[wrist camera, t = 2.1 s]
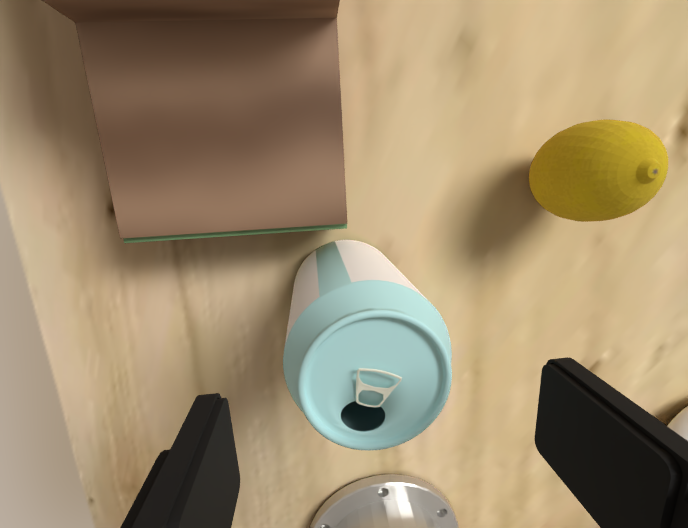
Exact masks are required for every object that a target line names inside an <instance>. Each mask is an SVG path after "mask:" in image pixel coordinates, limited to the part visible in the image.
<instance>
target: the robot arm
mask: <svg viewBox="0 0 688 528" xmlns="http://www.w3.org/2000/svg"><path fill="white" fill-rule="evenodd" d="M535 444H536V447H537V449H538V451H539V453H540V454H541V455H542V457H543V458H544V459H545V460H546V461H547V463H548V464H549V465H550V466H551V468H552V469H553V470H554V471H555V472H556V474H557V475H558V476H559V477H560V479H561V480H562V481H563V482H564V483H565V485H566V486H567V487H568V488H569V490H570V491H571V492H572V493H573V494H574V496H575V497H576V498H577V499H578V501H579V502H580V503H581V504H582V505H583V507H584V508H585V509H586V510H587V512H588V513H589V514H590V515H591V516H592V518H593V519H594V520H595V521H596V523H597V524H598V525H599V526H600V527H601V528H688V441H687V440H686V439H684V438H683V437H682V436H680V435H679V434H677V433H676V432H675V431H673V430H672V429H670V428H669V427H668V426H666V425H665V424H663V423H662V422H661V421H659V420H658V419H656V418H655V417H654V416H652V415H651V414H649V413H648V412H647V411H645V410H644V409H642V408H641V407H639V406H638V405H637V404H635V403H634V402H632V401H631V400H630V399H628V398H627V397H625V396H624V395H623V394H621V393H620V392H618V391H617V390H616V389H614V388H613V387H611V386H610V385H609V384H607V383H606V382H604V381H603V380H602V379H600V378H599V377H597V376H596V375H595V374H593V373H592V372H590V371H589V370H588V369H586V368H585V367H583V366H582V365H581V364H579V363H578V362H576V361H575V360H574V359H572V358H559V359H550V360H548V362H547V364H546V365H544V366H543V368H542V375H541V385H540V394H539V403H538V412H537V421H536V431H535ZM239 488H240V473H239V467H238V461H237V454H236V448H235V442H234V436H233V429H232V423H231V417H230V410H229V404H228V400H227V398H221V396H220V394H219V393H216V394H206V395H198V396H197V397H196V399H195V401H194V403H193V405H192V407H191V409H190V411H189V413H188V415H187V417H186V419H185V421H184V423H183V425H182V427H181V429H180V431H179V433H178V435H177V437H176V439H175V441H174V443H173V445H172V447H171V449H170V450H164V451H162V452H161V453H160V455H159V456H158V457H157V459H156V461H155V463H154V465H153V467H152V469H151V471H150V473H149V475H148V476H147V478H146V480H145V482H144V484H143V486H142V488H141V490H140V492H139V494H138V495H137V497H136V499H135V501H134V503H133V505H132V507H131V509H130V511H129V513H128V514H127V516H126V518H125V520H124V522H123V524H122V526H121V528H231V525H232V521H233V516H234V511H235V507H236V502H237V498H238V493H239ZM310 528H459V527H458V522H457V520H456V517H455V514H454V512H453V510H452V508H451V505H450V503H449V501H448V500H447V499H446V497H445V496H444V495H443V494H442V493H441V491H439V490H438V489H437V488H435V487H434V486H433V485H431V484H430V483H427V482H425V481H423V480H421V479H419V478H415V477H411V476H407V475H397V474H386V475H376V476H372V477H368V478H364V479H361V480H358V481H356V482H354V483H351V484H349V485H347V486H346V487H344V488H342V489H341V490H339V491H337V492H336V493H335V494H334V495H332V496H331V497H330V498H329V499H328V500H327V501H326V502H325V503H324V504H323V505H322V507H321V508H320V509H319V510H318V512H317V513H316V515H315V517H314V519H313V521H312V523H311V526H310Z"/></svg>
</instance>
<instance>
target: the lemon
mask: <svg viewBox="0 0 688 528" xmlns="http://www.w3.org/2000/svg"><path fill="white" fill-rule="evenodd" d="M667 170H668V156H667V152H666V149H665V147H664V145H663V143H662V142H661V140H660V138H659V137H658V136H656V135H655V134H654V133H653V132H652V131H651V130H649V129H647V128H645V127H643V126H641V125H638V124H636V123H632V122H626V121H618V120H597V121H590V122H584V123H580V124H577V125H574V126H572V127H570V128H567V129H565V130H563V131H561V132H559V133H557V134H556V135H554V136H553V137H552V138H551V139H549V140H548V141H547V142H546V143H545V144H544V145H543V146H542V147H541V148H540V149H539V151H538V152H537V153H536V155H535V157H534V159H533V161H532V163H531V167H530V171H529V184H530V189H531V192H532V194H533V195H534V197H535V199H536V201H537V202H538V203H539V204H540V205H541V206H542V207H543V208H544V209H546V210H547V211H549V212H551V213H553V214H554V215H556V216H559V217H562V218H566V219H570V220H575V221H603V220H610V219H614V218H618V217H621V216H624V215H627V214H630V213H632V212H634V211H635V210H637V209H639V208H640V207H642V206H644V205H645V204H646V203H647V202H649V201H650V200H651V199H652V198H653V197H654V196H655V195H656V193H657V192H658V191H659V189H660V188H661V187H662V185H663V182H664V180H665V178H666V174H667Z"/></svg>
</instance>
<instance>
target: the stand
mask: <svg viewBox="0 0 688 528" xmlns="http://www.w3.org/2000/svg"><path fill="white" fill-rule="evenodd" d="M42 1H44V2H45V3H47V4H48V5H50V6H51V7H53V8H54V9H56V10H57V11H59V12H60V13H62V14H63V15H65V16H66V17H68V18H69V19H71V20H72V21H74V22H75V23H76V28H77V33H78V37H79V42H80V47H81V52H82V57H83V62H84V66H85V71H86V76H87V81H88V86H89V90H90V95H91V100H92V105H93V110H94V114H95V119H96V124H97V129H98V134H99V138H100V143H101V148H102V153H103V158H104V163H105V167H106V172H107V177H108V182H109V187H110V191H111V196H112V201H113V206H114V211H115V215H116V220H117V225H118V230H119V235H120V238H123V239H124V243H133V242H148V241H163V240H178V239H193V238H209V237H224V236H239V235H254V234H269V233H284V232H299V231H314V230H329V229H344V228H347V207H346V188H345V169H344V149H343V130H342V110H341V91H340V71H339V52H338V32H337V13H338V7H339V1H340V0H42Z"/></svg>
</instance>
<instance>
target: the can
mask: <svg viewBox="0 0 688 528" xmlns="http://www.w3.org/2000/svg"><path fill="white" fill-rule="evenodd" d="M451 356H452V351H451V342H450V337H449V333H448V330H447V327H446V325H445V323H444V320H443V319H442V317H441V315H440V314H439V312H438V311H437V310H436V308H435V307H434V306H433V305H432V304H431V303H430V302H429V301H428V300H427V299H426V298H425V297H424V296H423V295H422V294H421V293H420V292H419V291H418V289H417V288H416V287H415V286H414V285H413V284H412V283H411V282H410V281H409V280H408V279H407V278H406V277H405V276H404V275H403V274H402V273H401V272H400V271H399V270H398V269H397V268H396V267H395V266H394V265H393V264H392V263H391V262H390V261H389V260H388V259H387V258H386V257H385V256H384V255H383V254H382V253H381V252H380V251H379V250H377V249H376V248H374V247H373V246H371V245H369V244H366V243H363V242H360V241H355V240H339V241H334V242H330V243H328V244H325V245H323V246H321V247H319V248H318V249H316V250H315V251H313V252H312V253H311V254H310V255H309V256H308V257H307V258H306V259H305V260H304V262H303V263H302V264H301V266H300V268H299V270H298V272H297V275H296V278H295V282H294V288H293V295H292V301H291V308H290V314H289V321H288V328H287V334H286V341H285V348H284V356H283V370H284V376H285V381H286V384H287V387H288V389H289V392H290V394H291V396H292V398H293V400H294V401H295V403H296V404H297V406H298V407H299V408H300V409H301V411H302V412H303V413H304V414H305V416H306V418H307V419H308V421H309V422H310V424H311V425H312V426H313V427H314V428H315V429H316V430H317V431H318V432H319V433H320V434H321V435H322V436H324V437H325V438H327V439H328V440H330V441H332V442H334V443H336V444H338V445H341V446H344V447H347V448H351V449H357V450H380V449H386V448H390V447H394V446H397V445H400V444H402V443H405V442H407V441H409V440H411V439H412V438H414V437H416V436H417V435H419V434H420V433H421V432H423V431H424V430H425V429H426V428H427V427H428V426H429V425H430V424H431V423H432V422H433V421H434V420H435V419H436V418H437V416H438V415H439V413H440V412H441V410H442V409H443V407H444V405H445V403H446V400H447V398H448V395H449V392H450V387H451V380H452V370H451Z"/></svg>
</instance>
